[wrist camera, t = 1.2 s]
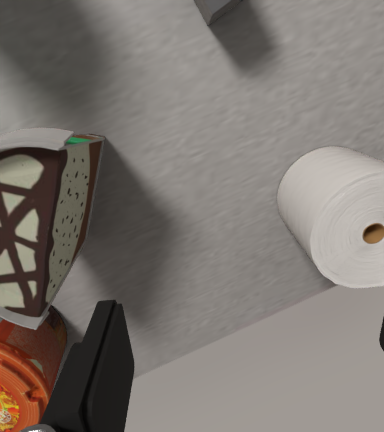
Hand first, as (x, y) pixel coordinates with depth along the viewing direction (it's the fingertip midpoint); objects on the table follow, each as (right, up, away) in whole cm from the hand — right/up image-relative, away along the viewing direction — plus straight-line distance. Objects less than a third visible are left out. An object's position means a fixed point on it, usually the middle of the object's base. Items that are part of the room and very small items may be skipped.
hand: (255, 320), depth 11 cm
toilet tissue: (+13, +7, +23) cm, 27 cm away
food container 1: (-16, +7, +22) cm, 29 cm away
